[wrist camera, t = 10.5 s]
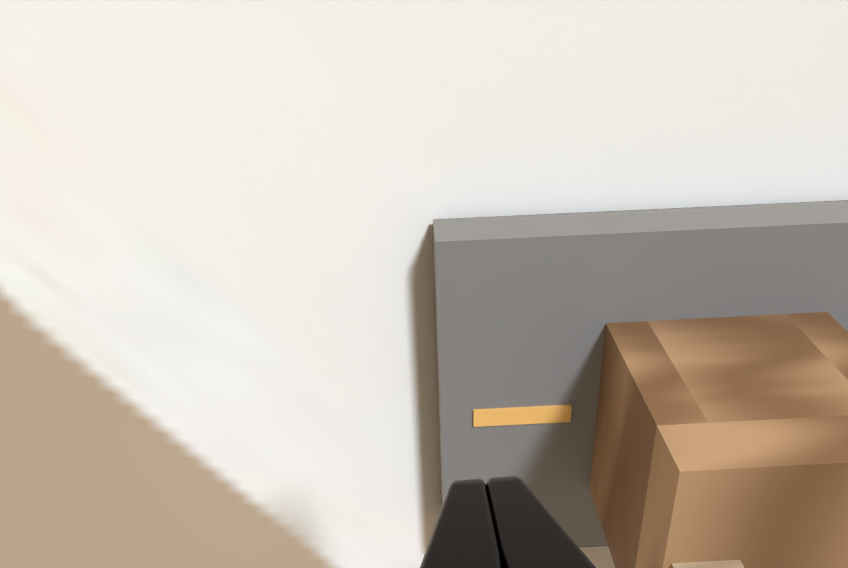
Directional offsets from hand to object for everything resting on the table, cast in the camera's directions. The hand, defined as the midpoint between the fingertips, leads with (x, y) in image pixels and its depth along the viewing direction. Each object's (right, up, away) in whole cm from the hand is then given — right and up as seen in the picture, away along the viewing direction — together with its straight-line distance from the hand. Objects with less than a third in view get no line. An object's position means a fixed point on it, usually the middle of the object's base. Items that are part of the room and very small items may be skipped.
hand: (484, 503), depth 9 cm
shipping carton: (+8, -1, +13) cm, 15 cm away
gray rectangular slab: (+8, 0, +15) cm, 16 cm away
